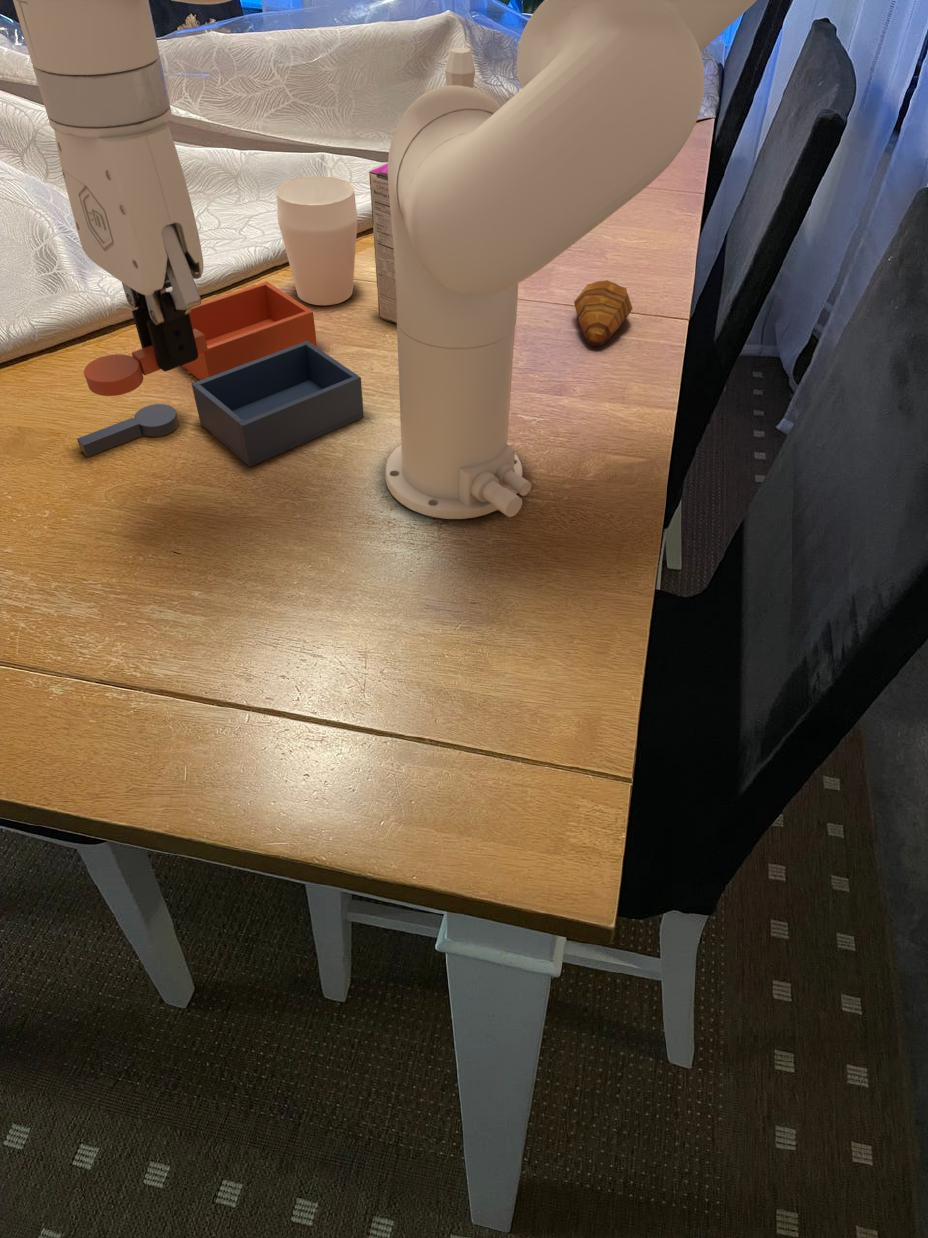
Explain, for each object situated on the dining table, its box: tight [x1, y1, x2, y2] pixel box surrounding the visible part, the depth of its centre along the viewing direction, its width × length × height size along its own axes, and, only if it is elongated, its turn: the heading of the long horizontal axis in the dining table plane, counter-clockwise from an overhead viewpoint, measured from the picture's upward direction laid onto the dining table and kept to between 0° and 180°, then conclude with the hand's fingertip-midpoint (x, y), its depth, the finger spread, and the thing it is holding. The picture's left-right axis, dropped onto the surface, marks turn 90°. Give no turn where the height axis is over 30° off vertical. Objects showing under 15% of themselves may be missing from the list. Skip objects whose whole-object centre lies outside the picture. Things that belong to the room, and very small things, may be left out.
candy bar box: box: [368, 163, 397, 325], centre depth 99 cm, size 11×5×16 cm, turn 143°
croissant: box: [573, 279, 633, 347], centre depth 101 cm, size 14×7×5 cm, turn 168°
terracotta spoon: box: [83, 329, 208, 397], centre depth 67 cm, size 10×4×1 cm, turn 133°
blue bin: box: [191, 341, 364, 468], centre depth 86 cm, size 9×13×4 cm
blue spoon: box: [76, 403, 180, 458], centre depth 84 cm, size 10×4×1 cm, turn 131°
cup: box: [275, 175, 358, 306], centre depth 102 cm, size 9×9×12 cm
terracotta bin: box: [181, 281, 318, 381], centre depth 95 cm, size 9×13×4 cm
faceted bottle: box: [444, 47, 476, 89], centre depth 110 cm, size 6×6×22 cm
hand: (171, 357), depth 68 cm, fingers closed on terracotta spoon, 1 cm apart
